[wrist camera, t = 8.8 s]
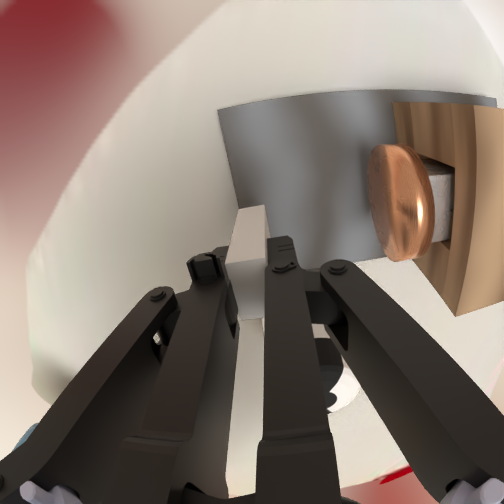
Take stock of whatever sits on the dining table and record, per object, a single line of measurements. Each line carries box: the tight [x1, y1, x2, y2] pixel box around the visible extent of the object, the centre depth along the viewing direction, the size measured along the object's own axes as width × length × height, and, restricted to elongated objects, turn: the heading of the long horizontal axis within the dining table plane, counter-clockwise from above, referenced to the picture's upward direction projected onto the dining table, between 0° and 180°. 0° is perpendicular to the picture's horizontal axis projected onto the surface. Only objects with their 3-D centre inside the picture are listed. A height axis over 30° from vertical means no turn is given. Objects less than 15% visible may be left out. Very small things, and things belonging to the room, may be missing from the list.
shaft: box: [367, 143, 455, 262], centre depth 15 cm, size 18×7×7 cm, turn 101°
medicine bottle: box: [262, 268, 361, 414], centre depth 22 cm, size 7×7×12 cm
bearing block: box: [217, 90, 504, 317], centre depth 16 cm, size 25×14×12 cm, turn 101°
